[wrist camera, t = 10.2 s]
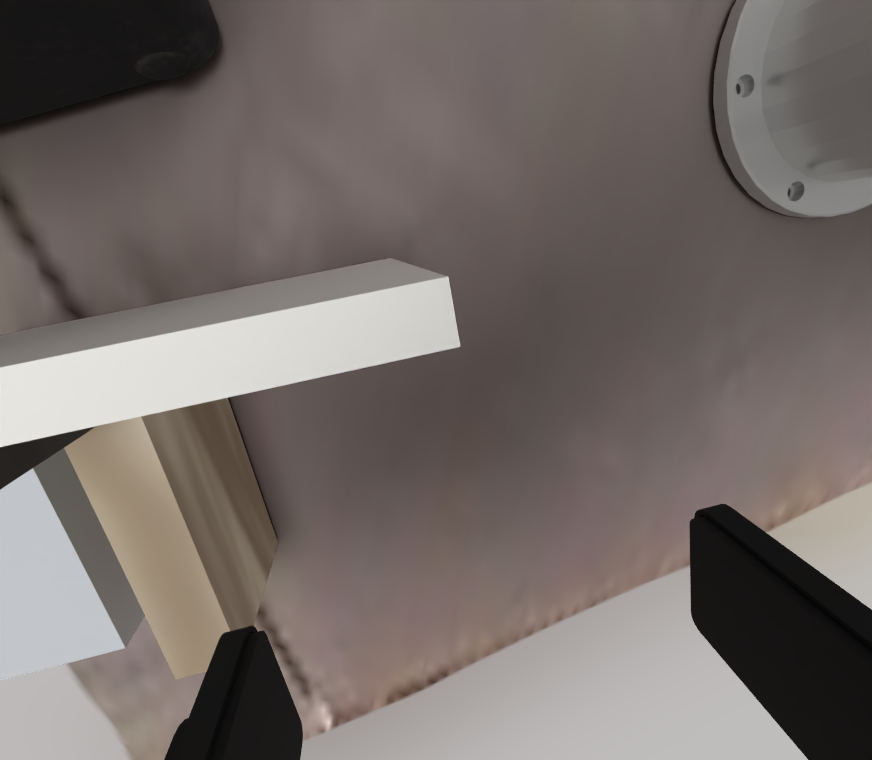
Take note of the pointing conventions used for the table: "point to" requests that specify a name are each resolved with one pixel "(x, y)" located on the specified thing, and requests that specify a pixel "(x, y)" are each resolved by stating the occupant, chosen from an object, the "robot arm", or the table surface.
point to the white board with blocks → (157, 392)
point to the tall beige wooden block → (173, 519)
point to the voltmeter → (95, 48)
